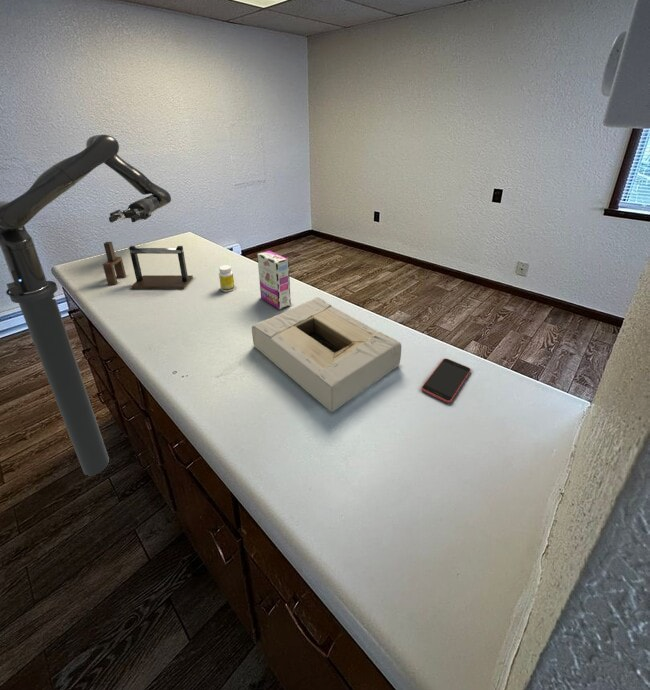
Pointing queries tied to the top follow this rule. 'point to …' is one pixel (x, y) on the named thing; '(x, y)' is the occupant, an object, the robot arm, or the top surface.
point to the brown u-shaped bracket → (112, 262)
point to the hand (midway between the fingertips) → (121, 220)
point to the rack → (159, 280)
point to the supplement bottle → (226, 278)
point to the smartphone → (446, 380)
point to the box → (326, 351)
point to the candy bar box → (274, 279)
